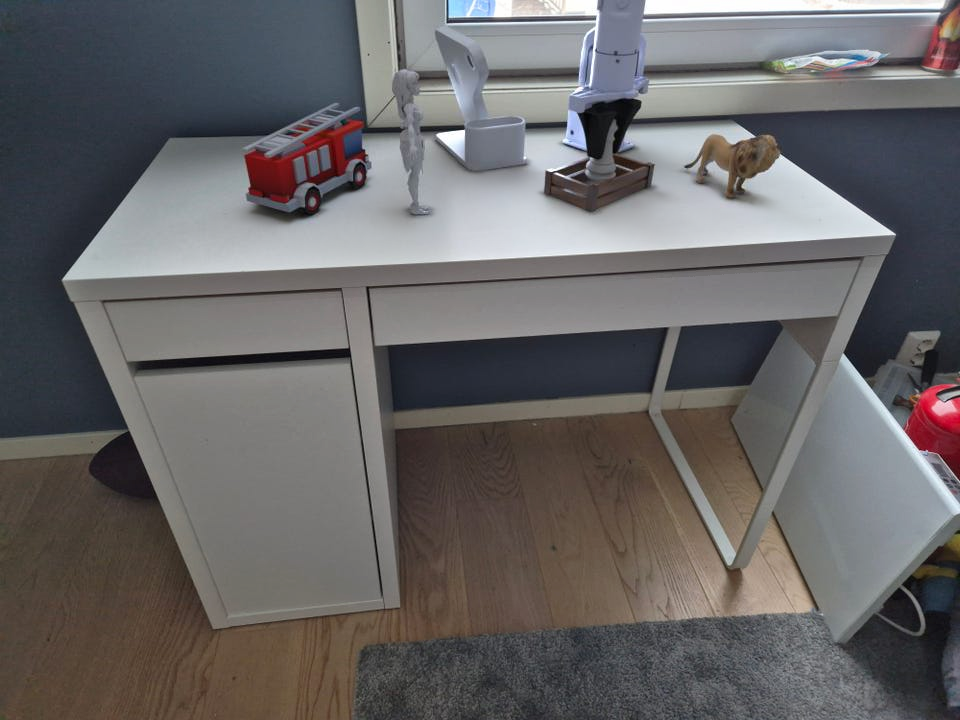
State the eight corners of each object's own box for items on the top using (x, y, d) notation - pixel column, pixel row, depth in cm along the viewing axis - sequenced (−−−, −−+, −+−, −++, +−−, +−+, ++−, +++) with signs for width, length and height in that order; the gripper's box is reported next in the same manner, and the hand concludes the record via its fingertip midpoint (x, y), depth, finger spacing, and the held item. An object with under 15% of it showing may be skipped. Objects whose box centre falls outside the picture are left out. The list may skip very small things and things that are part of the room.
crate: (543, 192, 94) (545, 170, 92) (604, 170, 102) (607, 148, 100) (591, 212, 89) (593, 188, 87) (651, 186, 96) (655, 164, 94)
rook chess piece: (617, 173, 95) (625, 117, 90) (612, 184, 92) (620, 126, 87) (587, 169, 96) (594, 113, 92) (581, 179, 93) (587, 123, 88)
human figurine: (432, 230, 84) (427, 82, 73) (403, 232, 83) (394, 83, 73) (423, 193, 93) (417, 58, 83) (397, 195, 93) (387, 59, 82)
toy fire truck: (378, 178, 98) (373, 109, 92) (294, 225, 84) (281, 149, 78) (331, 167, 101) (322, 100, 95) (243, 211, 88) (226, 136, 82)
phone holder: (530, 164, 103) (537, 39, 92) (470, 172, 100) (471, 45, 89) (487, 131, 116) (488, 18, 105) (433, 138, 113) (429, 22, 102)
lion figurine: (773, 199, 93) (792, 136, 88) (749, 207, 91) (767, 143, 85) (694, 167, 103) (707, 108, 97) (670, 174, 100) (682, 114, 95)
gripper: (604, 65, 78) (591, 175, 86) (674, 47, 86) (656, 150, 94) (560, 54, 82) (551, 160, 90) (630, 39, 90) (617, 137, 98)
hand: (602, 154), depth 92 cm, fingers closed on rook chess piece, 3 cm apart
